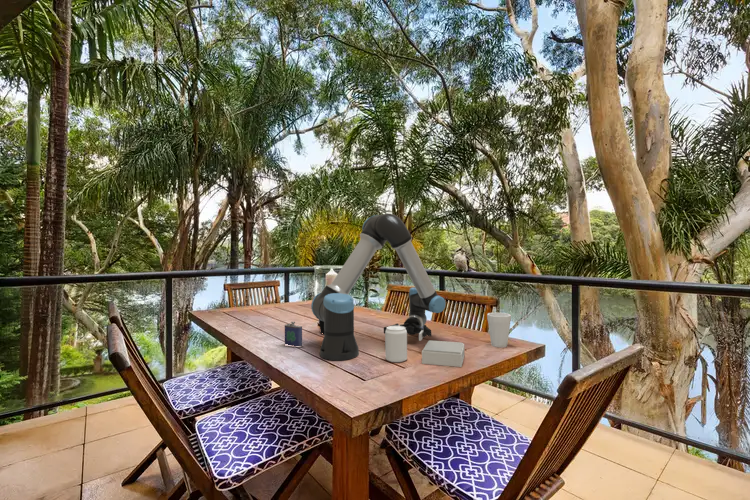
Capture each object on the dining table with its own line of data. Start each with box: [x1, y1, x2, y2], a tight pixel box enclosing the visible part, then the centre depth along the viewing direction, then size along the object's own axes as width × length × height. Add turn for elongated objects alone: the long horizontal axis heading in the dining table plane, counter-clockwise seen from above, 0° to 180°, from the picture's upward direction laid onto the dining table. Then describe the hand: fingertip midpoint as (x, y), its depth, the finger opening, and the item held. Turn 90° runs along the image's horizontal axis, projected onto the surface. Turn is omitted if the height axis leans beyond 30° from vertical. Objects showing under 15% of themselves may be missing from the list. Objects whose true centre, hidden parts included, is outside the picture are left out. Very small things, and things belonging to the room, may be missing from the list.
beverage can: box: [384, 325, 408, 363], centre depth 138 cm, size 8×8×12 cm
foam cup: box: [486, 312, 512, 348], centre depth 156 cm, size 10×9×13 cm
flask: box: [284, 321, 303, 347], centre depth 158 cm, size 9×3×11 cm, turn 61°
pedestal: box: [421, 340, 465, 368], centre depth 138 cm, size 14×14×5 cm
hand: (402, 336), depth 147 cm, fingers open, 13 cm apart
